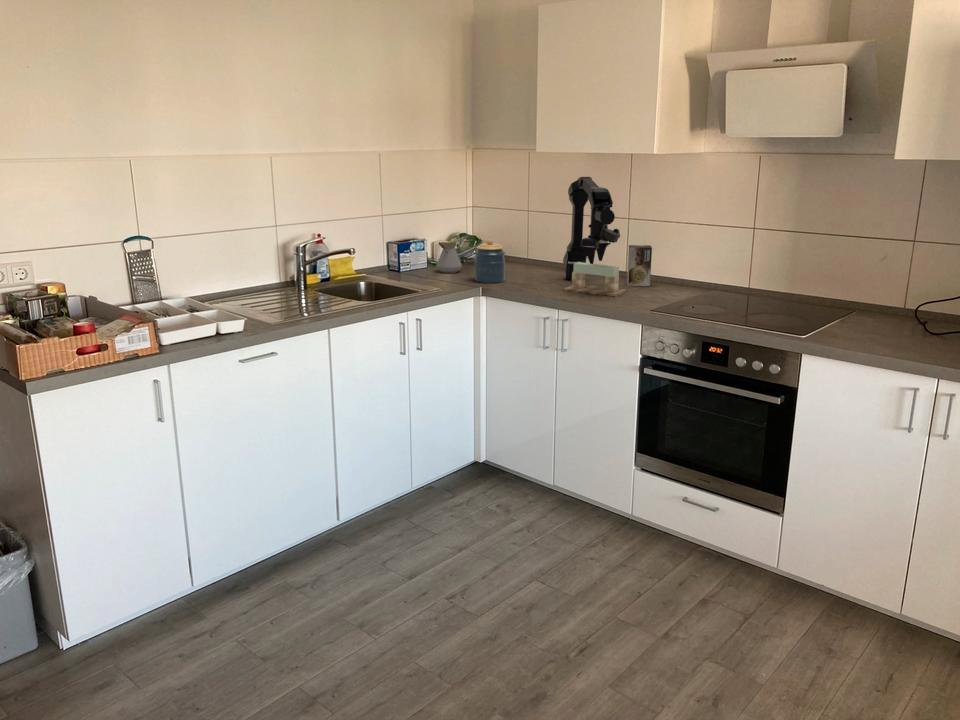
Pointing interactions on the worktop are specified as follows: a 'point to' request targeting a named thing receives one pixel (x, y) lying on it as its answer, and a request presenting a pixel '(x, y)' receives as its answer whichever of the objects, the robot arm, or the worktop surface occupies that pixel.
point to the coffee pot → (448, 259)
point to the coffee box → (639, 265)
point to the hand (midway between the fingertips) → (596, 262)
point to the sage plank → (596, 269)
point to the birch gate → (608, 290)
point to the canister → (489, 263)
